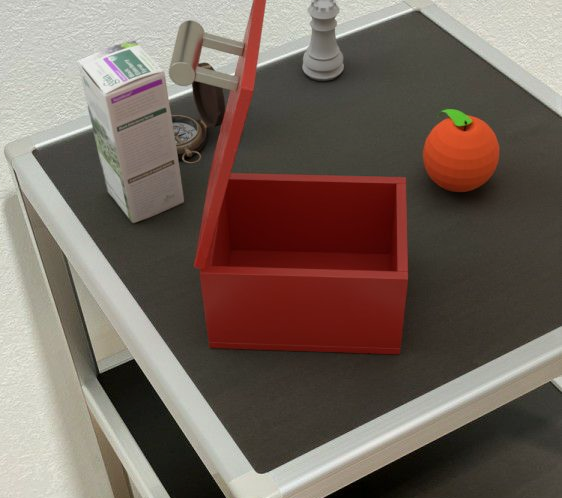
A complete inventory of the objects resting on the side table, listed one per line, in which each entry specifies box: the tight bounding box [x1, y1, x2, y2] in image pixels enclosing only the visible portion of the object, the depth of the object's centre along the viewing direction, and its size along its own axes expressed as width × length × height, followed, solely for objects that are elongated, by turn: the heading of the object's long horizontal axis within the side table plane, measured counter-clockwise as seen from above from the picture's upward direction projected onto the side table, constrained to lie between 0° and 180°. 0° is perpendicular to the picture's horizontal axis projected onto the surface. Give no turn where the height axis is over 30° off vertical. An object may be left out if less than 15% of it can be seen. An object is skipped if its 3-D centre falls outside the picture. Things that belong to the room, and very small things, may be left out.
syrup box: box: [77, 40, 185, 224], centre depth 86 cm, size 6×6×14 cm
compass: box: [171, 61, 226, 165], centre depth 93 cm, size 8×8×7 cm
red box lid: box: [168, 0, 267, 270], centre depth 69 cm, size 16×12×5 cm
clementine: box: [422, 108, 500, 193], centre depth 89 cm, size 8×7×7 cm
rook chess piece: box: [301, 0, 345, 82], centre depth 100 cm, size 4×4×8 cm
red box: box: [199, 172, 409, 355], centre depth 79 cm, size 16×12×9 cm
